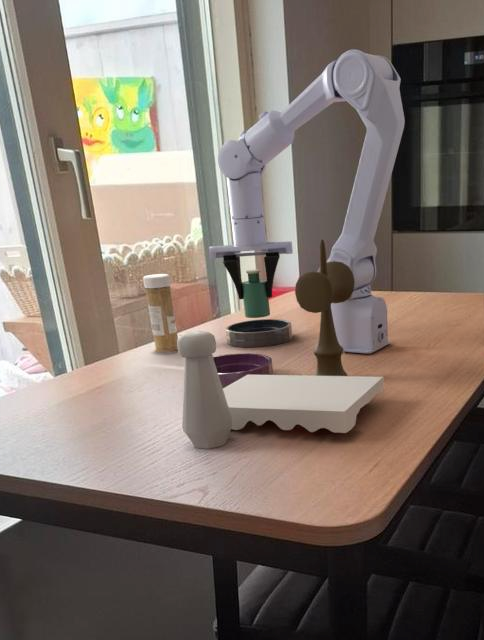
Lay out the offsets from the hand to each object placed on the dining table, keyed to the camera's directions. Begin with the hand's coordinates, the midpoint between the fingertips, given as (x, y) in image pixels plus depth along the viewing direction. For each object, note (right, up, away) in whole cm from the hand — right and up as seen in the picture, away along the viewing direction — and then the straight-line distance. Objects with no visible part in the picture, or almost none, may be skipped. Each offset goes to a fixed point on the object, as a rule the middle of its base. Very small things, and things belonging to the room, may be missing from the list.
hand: (256, 297), depth 127 cm
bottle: (0, -3, +1) cm, 3 cm away
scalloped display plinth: (+9, -25, -37) cm, 45 cm away
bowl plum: (-1, -18, -21) cm, 28 cm away
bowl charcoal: (0, -7, +3) cm, 8 cm away
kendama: (+14, -19, -24) cm, 33 cm away
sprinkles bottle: (-16, -10, +1) cm, 19 cm away
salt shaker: (-1, -29, -44) cm, 53 cm away
